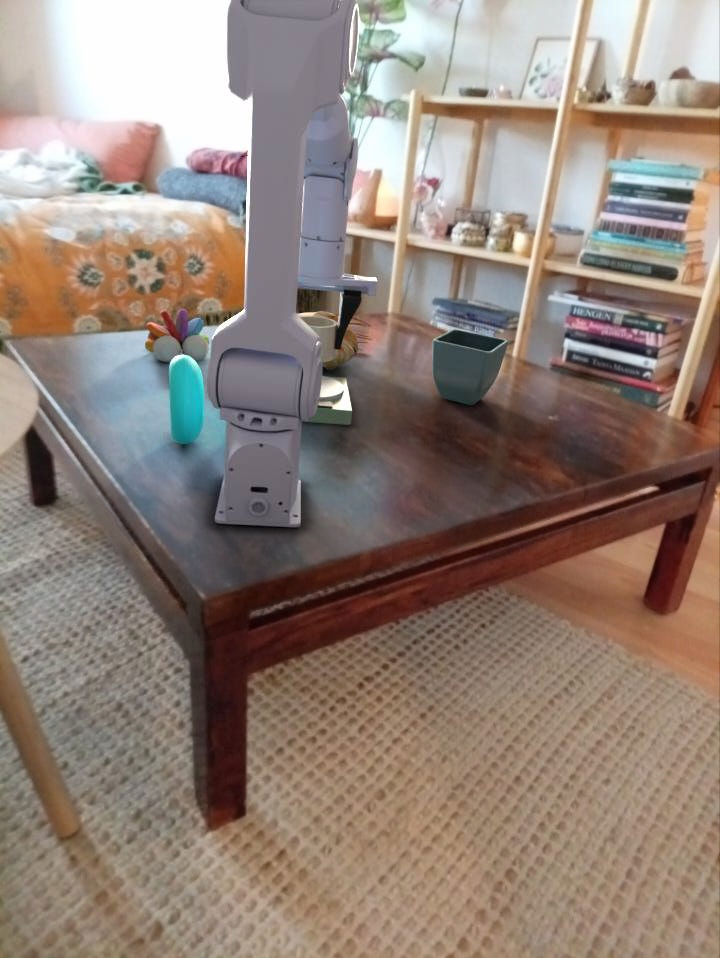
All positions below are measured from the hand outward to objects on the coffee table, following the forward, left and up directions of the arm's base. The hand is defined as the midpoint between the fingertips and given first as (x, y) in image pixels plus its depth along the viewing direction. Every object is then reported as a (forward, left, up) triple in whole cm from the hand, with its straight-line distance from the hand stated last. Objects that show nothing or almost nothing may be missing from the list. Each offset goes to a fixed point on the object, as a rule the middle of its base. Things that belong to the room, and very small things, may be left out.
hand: (314, 345), depth 92 cm
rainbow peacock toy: (+17, +20, -8) cm, 28 cm away
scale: (0, 0, -8) cm, 8 cm away
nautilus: (+20, -4, -8) cm, 22 cm away
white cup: (0, 0, -1) cm, 1 cm away
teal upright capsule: (-14, +11, -8) cm, 20 cm away
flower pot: (+7, -23, -8) cm, 25 cm away
